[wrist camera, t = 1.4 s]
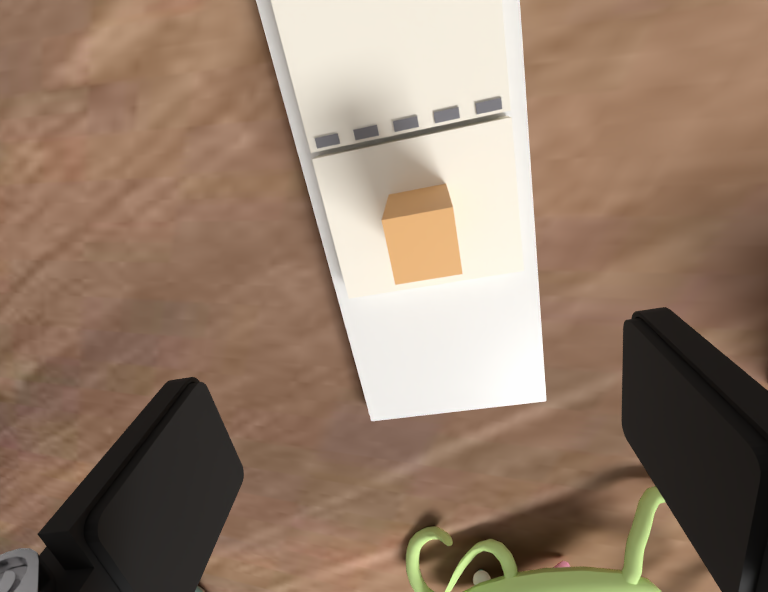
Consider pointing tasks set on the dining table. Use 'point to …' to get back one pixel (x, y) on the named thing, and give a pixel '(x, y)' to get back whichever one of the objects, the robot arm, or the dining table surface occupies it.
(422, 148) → the stub
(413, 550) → the figurine
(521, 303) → the board
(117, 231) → the dining table surface
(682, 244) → the dining table surface
